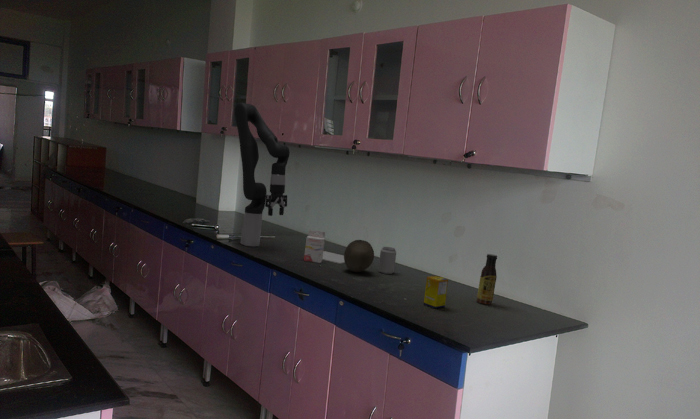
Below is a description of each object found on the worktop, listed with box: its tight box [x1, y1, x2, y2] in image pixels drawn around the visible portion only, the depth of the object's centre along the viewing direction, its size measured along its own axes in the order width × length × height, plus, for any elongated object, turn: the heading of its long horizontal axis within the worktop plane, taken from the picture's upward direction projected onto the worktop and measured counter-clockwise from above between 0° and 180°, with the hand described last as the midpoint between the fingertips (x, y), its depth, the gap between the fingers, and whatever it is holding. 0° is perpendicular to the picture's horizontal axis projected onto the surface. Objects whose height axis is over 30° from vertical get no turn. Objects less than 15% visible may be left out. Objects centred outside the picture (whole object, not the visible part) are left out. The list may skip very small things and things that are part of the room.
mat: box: [303, 250, 345, 265], centre depth 276 cm, size 22×18×1 cm
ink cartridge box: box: [303, 229, 326, 264], centre depth 262 cm, size 9×5×15 cm, turn 84°
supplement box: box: [423, 275, 449, 309], centre depth 204 cm, size 6×6×11 cm
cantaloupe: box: [343, 239, 375, 273], centre depth 247 cm, size 14×14×15 cm
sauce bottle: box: [476, 253, 498, 306], centre depth 216 cm, size 7×6×20 cm
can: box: [377, 246, 397, 275], centre depth 254 cm, size 8×8×12 cm
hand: (275, 215), depth 275 cm, fingers open, 8 cm apart
